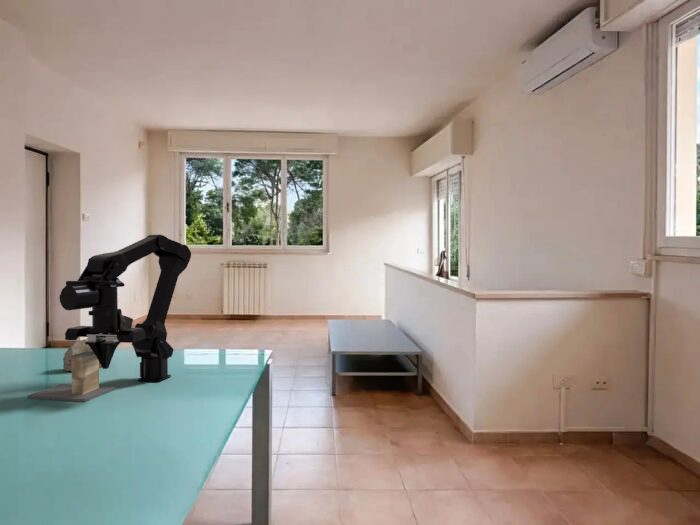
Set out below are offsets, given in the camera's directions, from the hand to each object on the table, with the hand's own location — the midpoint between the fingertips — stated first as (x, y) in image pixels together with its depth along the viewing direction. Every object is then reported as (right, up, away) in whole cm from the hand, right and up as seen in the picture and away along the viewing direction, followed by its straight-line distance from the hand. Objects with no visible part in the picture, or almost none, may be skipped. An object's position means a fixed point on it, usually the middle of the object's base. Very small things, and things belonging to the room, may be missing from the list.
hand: (105, 368), depth 128 cm
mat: (-9, -7, +1) cm, 11 cm away
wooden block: (-6, -6, +1) cm, 8 cm away
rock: (-18, -6, +27) cm, 33 cm away
